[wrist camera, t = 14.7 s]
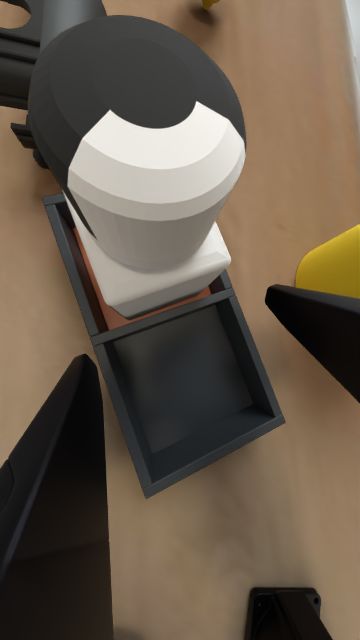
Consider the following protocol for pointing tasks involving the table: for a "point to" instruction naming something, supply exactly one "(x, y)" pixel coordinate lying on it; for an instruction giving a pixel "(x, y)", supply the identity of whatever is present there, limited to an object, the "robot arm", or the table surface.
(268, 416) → the divided tray
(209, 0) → the lemon
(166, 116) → the medicine bottle
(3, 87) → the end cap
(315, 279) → the yellow toilet paper roll
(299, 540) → the table surface
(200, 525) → the table surface
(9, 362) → the table surface
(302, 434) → the table surface
